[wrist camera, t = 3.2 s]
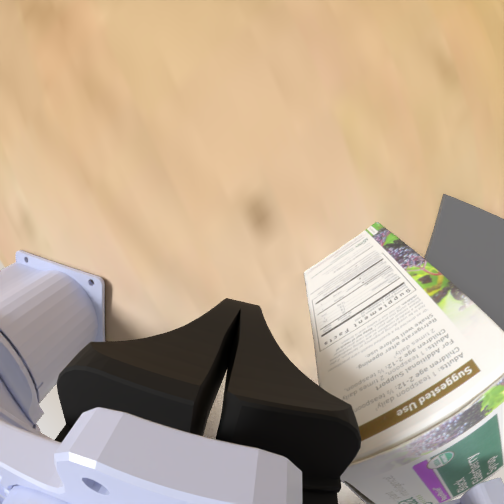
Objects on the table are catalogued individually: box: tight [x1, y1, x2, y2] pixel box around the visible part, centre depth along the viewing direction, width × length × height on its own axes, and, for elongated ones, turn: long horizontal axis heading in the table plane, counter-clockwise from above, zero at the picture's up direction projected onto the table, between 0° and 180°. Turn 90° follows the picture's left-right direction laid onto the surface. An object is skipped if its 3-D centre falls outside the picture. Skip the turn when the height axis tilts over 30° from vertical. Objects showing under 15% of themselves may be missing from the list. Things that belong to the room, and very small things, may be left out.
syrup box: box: [304, 222, 504, 504], centre depth 12 cm, size 6×6×14 cm
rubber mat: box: [424, 194, 504, 331], centre depth 19 cm, size 16×14×1 cm
